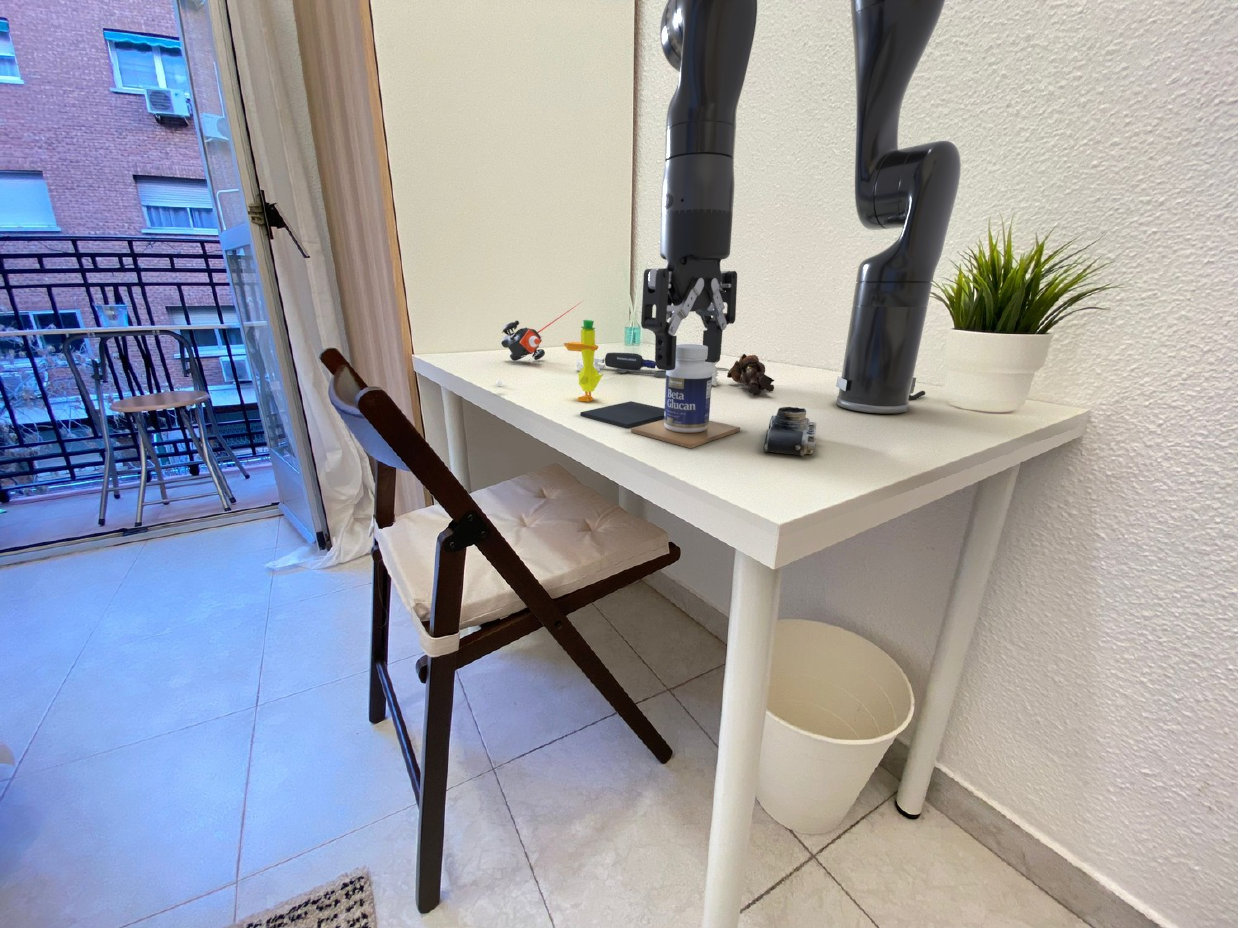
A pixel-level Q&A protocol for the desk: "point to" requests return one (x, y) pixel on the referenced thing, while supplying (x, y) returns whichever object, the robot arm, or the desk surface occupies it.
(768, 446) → the camera
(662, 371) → the key
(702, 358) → the pill bottle
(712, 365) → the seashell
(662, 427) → the copper plate
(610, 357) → the screwdriver
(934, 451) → the desk surface
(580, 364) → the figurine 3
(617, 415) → the rubber mat
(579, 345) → the toy figure
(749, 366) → the figurine
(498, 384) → the sphere
